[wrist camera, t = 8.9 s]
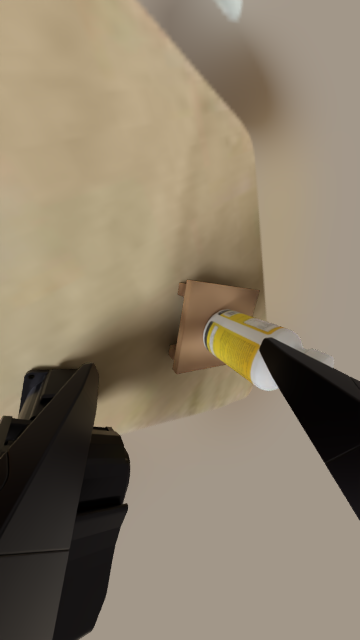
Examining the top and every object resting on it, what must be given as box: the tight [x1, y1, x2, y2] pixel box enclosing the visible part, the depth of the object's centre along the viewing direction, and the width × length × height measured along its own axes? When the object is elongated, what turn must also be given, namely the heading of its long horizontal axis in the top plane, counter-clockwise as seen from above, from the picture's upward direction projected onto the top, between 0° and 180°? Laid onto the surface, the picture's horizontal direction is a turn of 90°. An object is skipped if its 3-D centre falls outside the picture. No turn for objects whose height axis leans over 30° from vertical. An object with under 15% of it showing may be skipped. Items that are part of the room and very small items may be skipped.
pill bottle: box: [203, 309, 334, 391], centre depth 18 cm, size 6×6×12 cm
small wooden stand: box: [169, 280, 260, 374], centre depth 24 cm, size 12×12×4 cm
